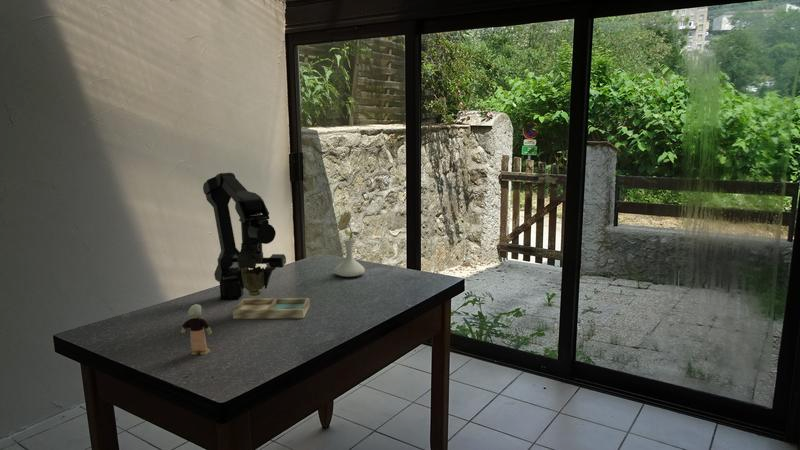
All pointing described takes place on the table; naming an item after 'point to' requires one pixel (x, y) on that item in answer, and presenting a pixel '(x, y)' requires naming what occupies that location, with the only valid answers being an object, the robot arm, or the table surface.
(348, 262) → the flower in vase
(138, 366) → the table surface
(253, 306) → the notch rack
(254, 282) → the cup
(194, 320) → the grandmother figurine
